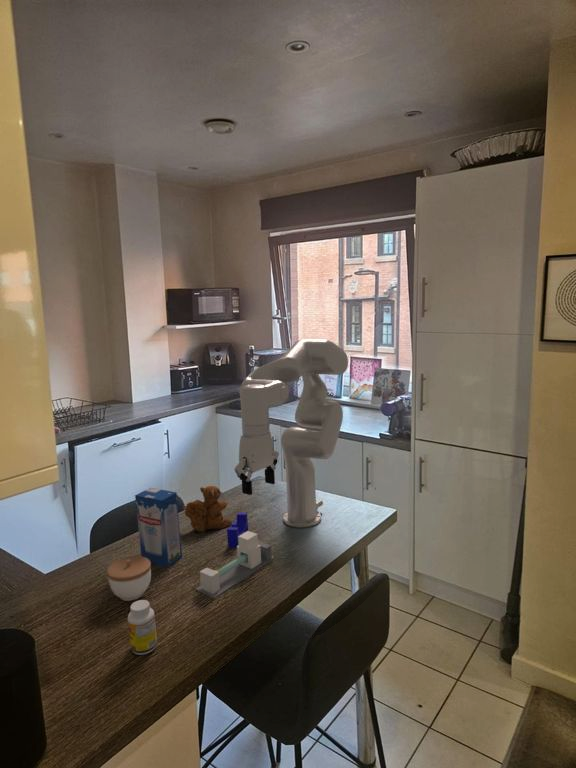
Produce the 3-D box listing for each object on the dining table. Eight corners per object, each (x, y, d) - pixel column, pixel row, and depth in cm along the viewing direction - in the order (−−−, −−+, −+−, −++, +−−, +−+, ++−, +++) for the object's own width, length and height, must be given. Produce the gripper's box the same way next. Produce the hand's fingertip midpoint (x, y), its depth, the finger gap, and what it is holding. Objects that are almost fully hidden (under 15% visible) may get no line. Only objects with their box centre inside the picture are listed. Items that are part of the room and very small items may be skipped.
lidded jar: (109, 588, 136) (105, 555, 135) (151, 578, 140) (147, 546, 138) (110, 610, 127) (106, 575, 125) (155, 600, 130) (152, 565, 129)
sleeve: (247, 557, 148) (245, 530, 146) (261, 562, 145) (259, 534, 143) (237, 563, 145) (236, 535, 143) (251, 569, 141) (249, 540, 140)
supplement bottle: (132, 641, 115) (127, 599, 113) (158, 637, 116) (153, 595, 114) (129, 658, 109) (125, 614, 108) (156, 653, 110) (152, 610, 109)
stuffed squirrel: (234, 524, 171) (232, 486, 169) (197, 539, 162) (194, 499, 160) (217, 515, 178) (215, 479, 176) (181, 529, 169) (178, 491, 167)
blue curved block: (234, 529, 167) (233, 512, 166) (248, 530, 167) (247, 512, 166) (223, 547, 156) (222, 529, 155) (237, 548, 155) (236, 529, 154)
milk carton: (141, 560, 150) (134, 495, 147) (156, 550, 156) (150, 487, 152) (168, 567, 146) (162, 500, 142) (182, 557, 151) (176, 492, 147)
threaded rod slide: (256, 551, 152) (255, 534, 151) (275, 558, 148) (274, 541, 147) (195, 589, 134) (193, 571, 133) (214, 598, 129) (213, 579, 129)
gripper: (266, 421, 152) (268, 477, 155) (223, 434, 138) (227, 495, 141) (286, 424, 147) (288, 481, 150) (244, 438, 134) (247, 501, 137)
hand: (259, 488), depth 146 cm, fingers open, 9 cm apart
